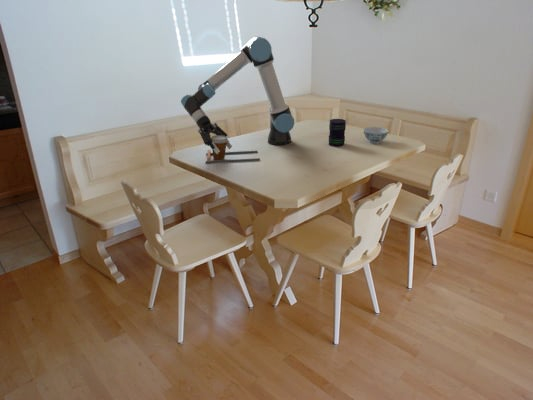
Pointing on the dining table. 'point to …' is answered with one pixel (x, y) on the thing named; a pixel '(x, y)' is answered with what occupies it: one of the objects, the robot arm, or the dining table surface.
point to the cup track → (231, 160)
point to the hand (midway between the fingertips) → (224, 150)
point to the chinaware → (375, 134)
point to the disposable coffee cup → (219, 146)
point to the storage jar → (337, 132)
